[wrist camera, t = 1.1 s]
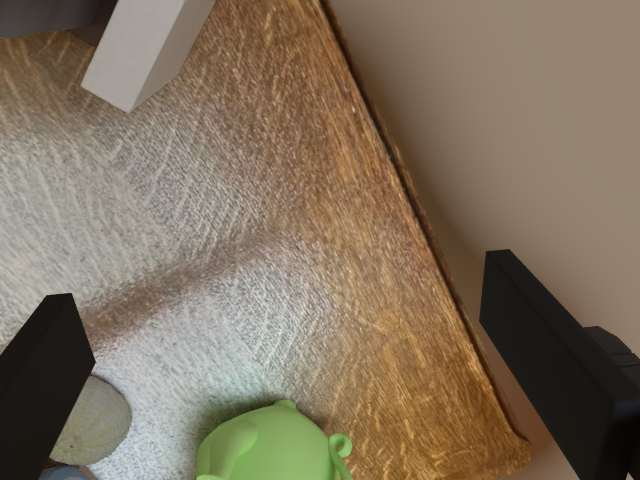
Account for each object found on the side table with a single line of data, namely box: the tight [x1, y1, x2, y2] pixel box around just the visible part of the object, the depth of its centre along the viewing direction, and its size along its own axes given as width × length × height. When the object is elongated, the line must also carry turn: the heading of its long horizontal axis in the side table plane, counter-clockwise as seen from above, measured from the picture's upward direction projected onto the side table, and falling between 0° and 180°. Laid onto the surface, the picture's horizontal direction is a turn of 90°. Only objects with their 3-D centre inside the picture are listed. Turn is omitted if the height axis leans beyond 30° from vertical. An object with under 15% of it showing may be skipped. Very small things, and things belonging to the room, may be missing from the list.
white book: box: [81, 0, 216, 114], centre depth 27 cm, size 9×2×13 cm, turn 146°
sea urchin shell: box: [49, 376, 132, 466], centre depth 45 cm, size 9×8×8 cm
